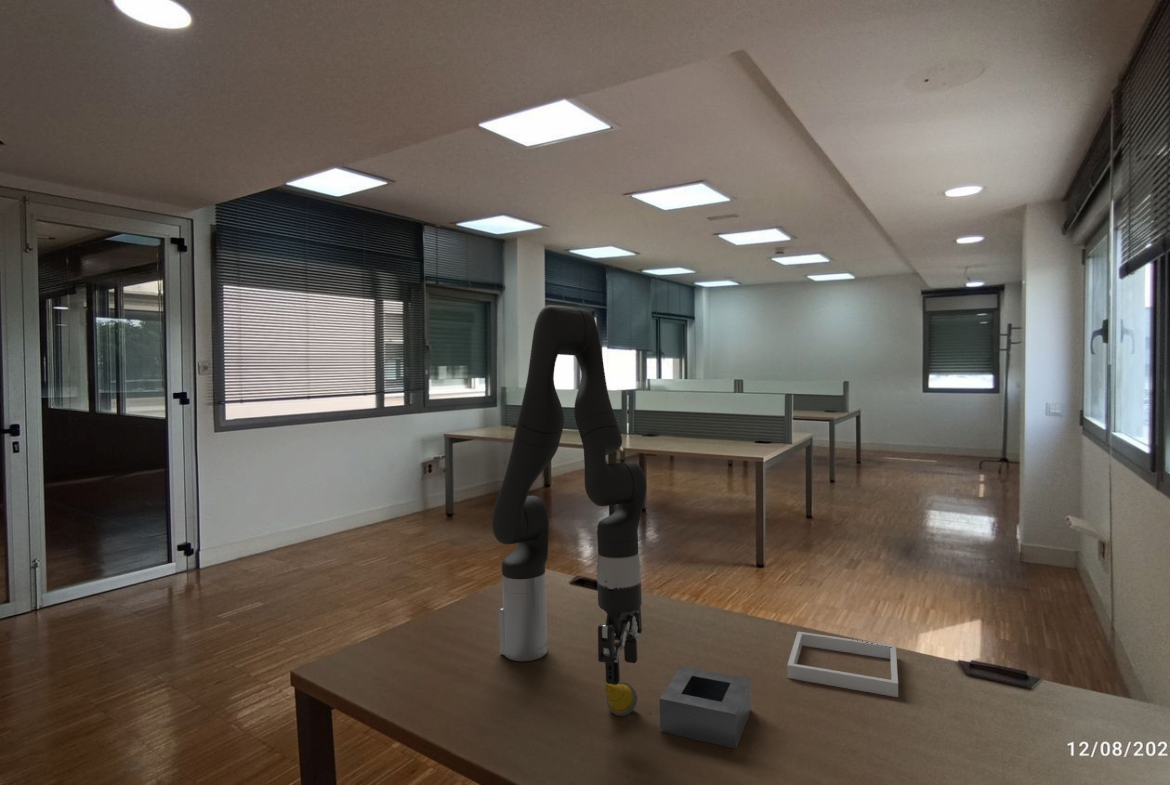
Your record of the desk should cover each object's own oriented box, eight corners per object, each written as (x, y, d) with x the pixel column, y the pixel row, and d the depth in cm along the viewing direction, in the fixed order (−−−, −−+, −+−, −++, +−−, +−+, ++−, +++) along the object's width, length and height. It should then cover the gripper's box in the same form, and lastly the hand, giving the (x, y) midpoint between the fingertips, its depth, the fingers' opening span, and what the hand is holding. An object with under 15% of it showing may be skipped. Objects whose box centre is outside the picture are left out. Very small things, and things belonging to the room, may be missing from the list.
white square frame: (787, 677, 120) (787, 664, 120) (797, 642, 135) (797, 631, 135) (898, 697, 112) (898, 683, 111) (895, 657, 127) (895, 645, 127)
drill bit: (646, 716, 108) (622, 694, 102) (618, 726, 109) (593, 705, 103) (640, 686, 112) (616, 663, 106) (613, 696, 113) (588, 674, 108)
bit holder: (660, 731, 103) (659, 698, 102) (681, 695, 114) (681, 666, 114) (736, 748, 97) (735, 714, 97) (750, 709, 109) (750, 678, 108)
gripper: (614, 565, 115) (617, 652, 116) (581, 589, 103) (585, 687, 103) (653, 569, 112) (656, 658, 112) (624, 594, 99) (627, 695, 100)
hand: (622, 672), depth 108 cm, fingers open, 8 cm apart
